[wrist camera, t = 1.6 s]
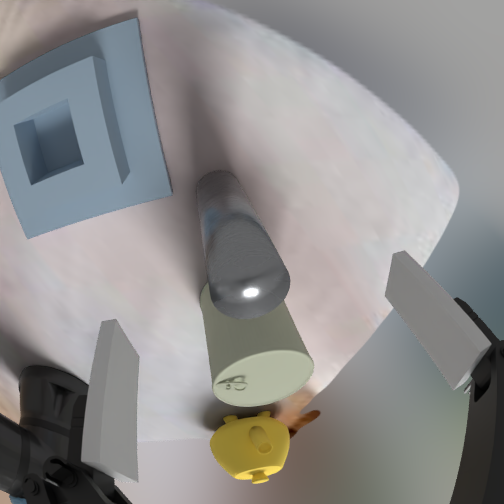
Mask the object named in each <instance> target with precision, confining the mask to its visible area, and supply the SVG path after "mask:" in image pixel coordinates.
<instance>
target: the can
mask: <svg viewBox="0 0 504 504" xmlns="http://www.w3.org/2000/svg"><path fill="white" fill-rule="evenodd" d="M200 307H201V310H202V313H203V319H204V326H205V334H206V341H207V348H208V355H209V362H210V370H211V377H212V390H213V393H214V394H215V396H216V397H217V398H218V399H219V400H221V401H223V402H224V403H227V404H230V405H234V406H241V407H252V406H261V405H266V404H270V403H273V402H276V401H279V400H282V399H284V398H286V397H288V396H290V395H292V394H293V393H295V392H296V391H298V390H299V389H300V388H302V387H303V386H304V385H305V384H306V383H307V382H308V380H309V379H310V377H311V376H312V373H313V370H314V363H313V360H312V358H311V357H310V355H309V353H308V351H307V349H306V347H305V345H304V343H303V341H302V339H301V337H300V335H299V332H298V330H297V328H296V326H295V324H294V322H293V319H292V317H291V315H290V313H289V311H288V308H287V306H286V304H285V302H284V300H283V301H282V303H281V304H280V305H279V306H278V307H276V308H275V309H274V310H272V311H271V312H269V313H267V314H265V315H263V316H260V317H257V318H252V319H236V318H231V317H228V316H226V315H224V314H222V313H221V312H220V311H218V310H217V309H216V307H215V306H214V305H213V303H212V300H211V297H210V291H209V284H208V282H207V284H206V285H205V286H204V288H203V290H202V293H201V296H200Z"/></svg>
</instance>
